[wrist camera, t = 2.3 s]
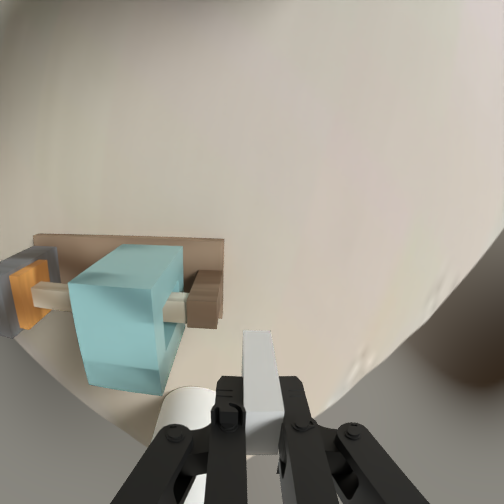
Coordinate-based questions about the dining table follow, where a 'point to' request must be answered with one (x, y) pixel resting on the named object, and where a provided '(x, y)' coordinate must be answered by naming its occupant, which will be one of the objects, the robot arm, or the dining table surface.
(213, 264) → the rail
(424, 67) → the dining table surface
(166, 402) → the cup
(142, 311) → the sleeve
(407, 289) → the dining table surface
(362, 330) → the dining table surface
